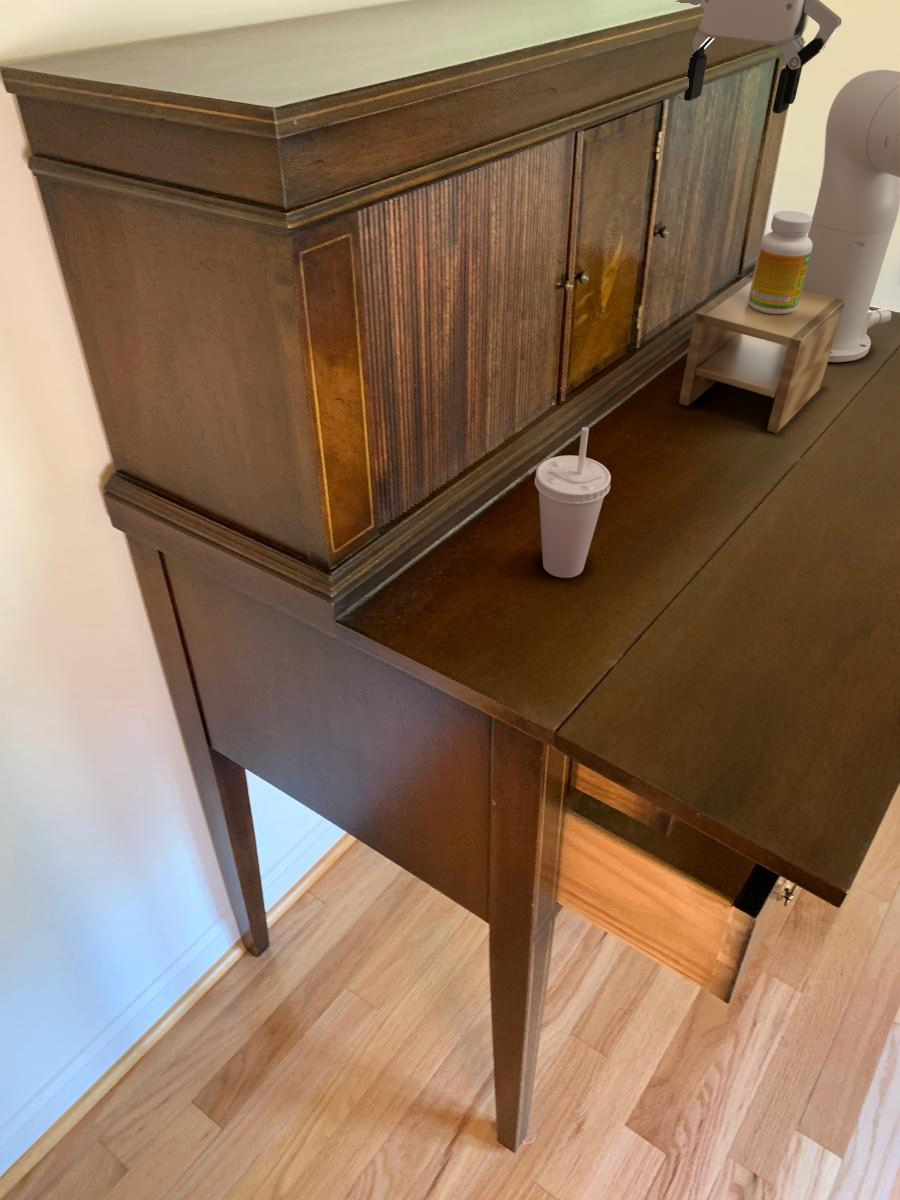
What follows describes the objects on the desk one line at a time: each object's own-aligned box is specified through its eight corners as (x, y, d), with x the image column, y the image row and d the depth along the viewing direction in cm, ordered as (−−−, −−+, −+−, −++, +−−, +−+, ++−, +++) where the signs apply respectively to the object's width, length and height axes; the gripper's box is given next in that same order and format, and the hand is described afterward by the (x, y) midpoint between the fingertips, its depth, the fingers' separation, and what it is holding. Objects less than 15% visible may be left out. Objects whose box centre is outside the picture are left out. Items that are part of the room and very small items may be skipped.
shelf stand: (727, 362, 117) (745, 276, 110) (819, 389, 111) (845, 300, 104) (678, 403, 108) (695, 312, 101) (776, 433, 103) (801, 340, 96)
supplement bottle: (799, 317, 100) (823, 225, 94) (749, 313, 101) (769, 222, 95) (794, 299, 105) (816, 210, 98) (745, 295, 105) (764, 206, 99)
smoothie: (595, 591, 80) (615, 451, 72) (523, 581, 81) (534, 443, 73) (601, 549, 85) (620, 413, 76) (532, 540, 86) (544, 405, 77)
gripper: (879, -97, 85) (827, 110, 95) (701, -104, 92) (672, 89, 103) (857, -95, 80) (805, 123, 91) (671, -102, 87) (644, 99, 98)
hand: (735, 104), depth 97 cm, fingers open, 9 cm apart
